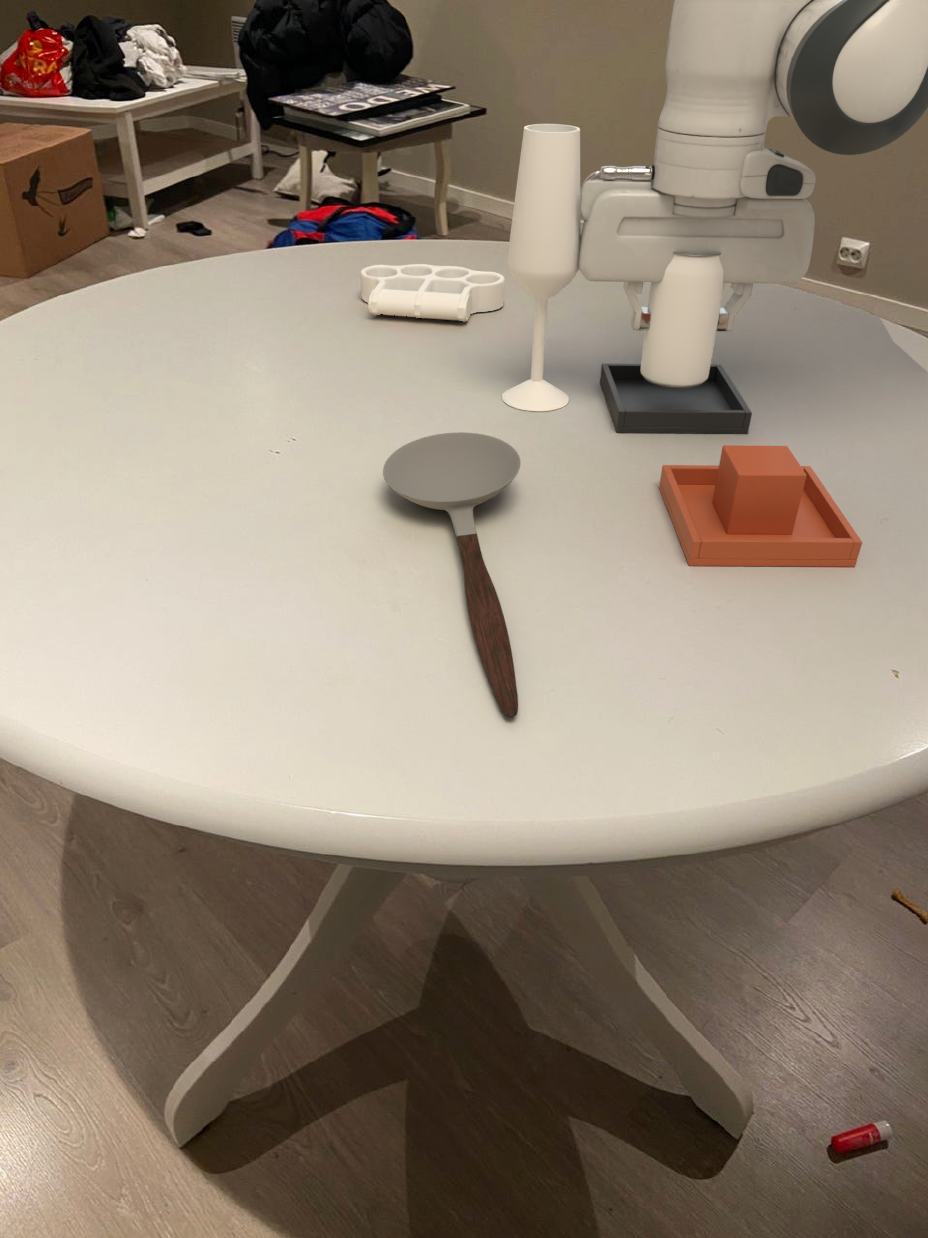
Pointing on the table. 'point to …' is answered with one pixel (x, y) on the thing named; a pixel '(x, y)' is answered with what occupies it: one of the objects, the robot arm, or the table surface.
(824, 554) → the terracotta tray
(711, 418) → the charcoal tray
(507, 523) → the table surface
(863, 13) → the robot arm
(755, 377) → the table surface
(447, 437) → the spoon
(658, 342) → the can
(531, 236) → the champagne flute
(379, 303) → the white brass knuckles
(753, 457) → the block
